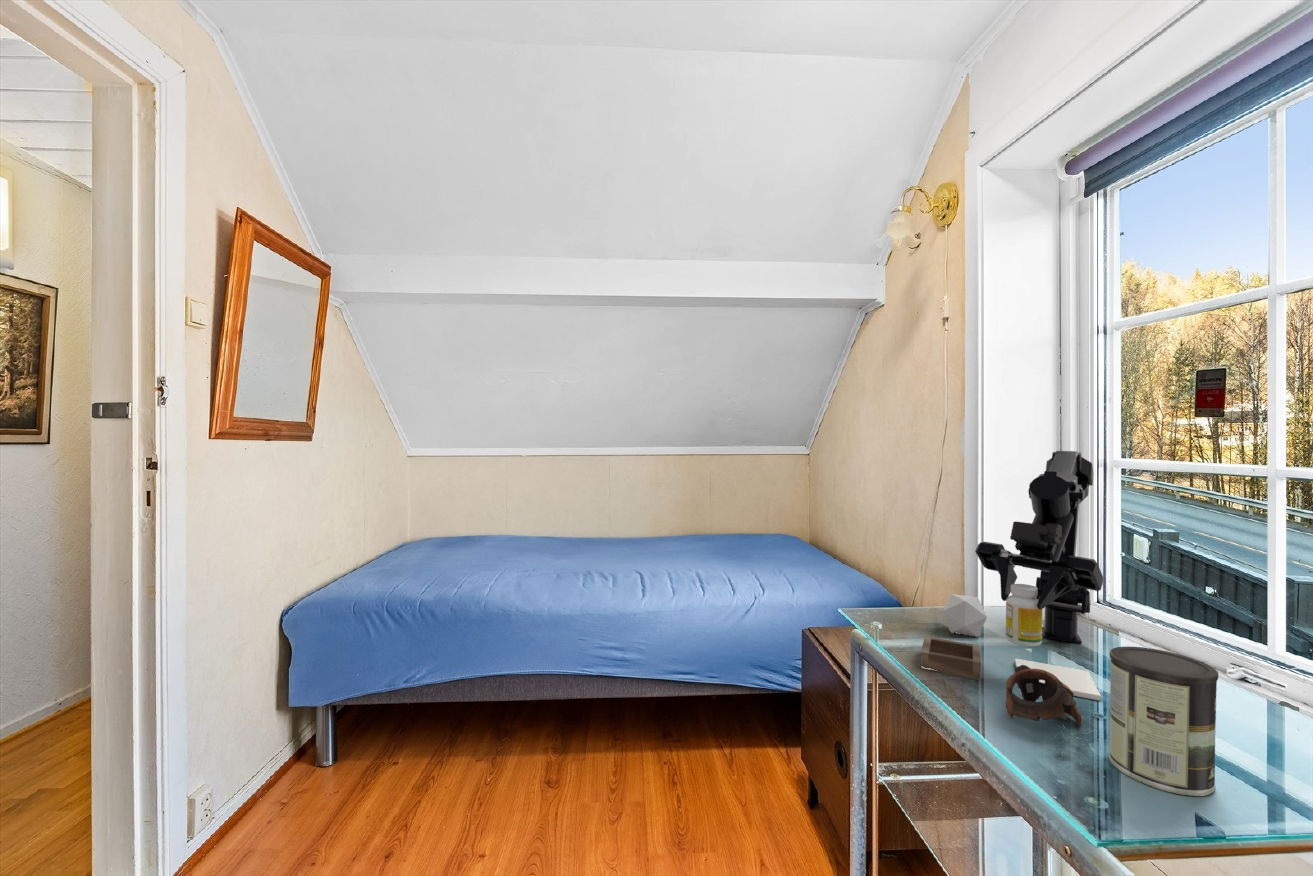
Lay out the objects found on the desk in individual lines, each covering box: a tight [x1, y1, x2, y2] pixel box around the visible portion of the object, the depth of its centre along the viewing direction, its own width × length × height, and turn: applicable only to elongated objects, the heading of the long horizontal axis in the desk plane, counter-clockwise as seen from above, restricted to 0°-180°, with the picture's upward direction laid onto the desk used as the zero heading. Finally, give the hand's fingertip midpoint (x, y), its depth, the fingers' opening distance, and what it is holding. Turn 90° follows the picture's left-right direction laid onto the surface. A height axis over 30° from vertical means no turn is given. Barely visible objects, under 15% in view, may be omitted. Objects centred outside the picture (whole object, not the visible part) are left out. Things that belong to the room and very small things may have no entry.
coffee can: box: [1108, 646, 1219, 797], centre depth 72 cm, size 10×10×14 cm
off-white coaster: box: [1014, 658, 1102, 702], centre depth 99 cm, size 11×11×1 cm
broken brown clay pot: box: [1004, 665, 1082, 727], centre depth 86 cm, size 12×10×8 cm
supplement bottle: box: [1005, 583, 1043, 647], centre depth 100 cm, size 5×5×10 cm
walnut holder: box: [920, 635, 982, 681], centre depth 105 cm, size 9×9×3 cm
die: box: [942, 593, 988, 638], centre depth 123 cm, size 8×9×10 cm
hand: (1020, 603), depth 99 cm, fingers closed on supplement bottle, 5 cm apart
